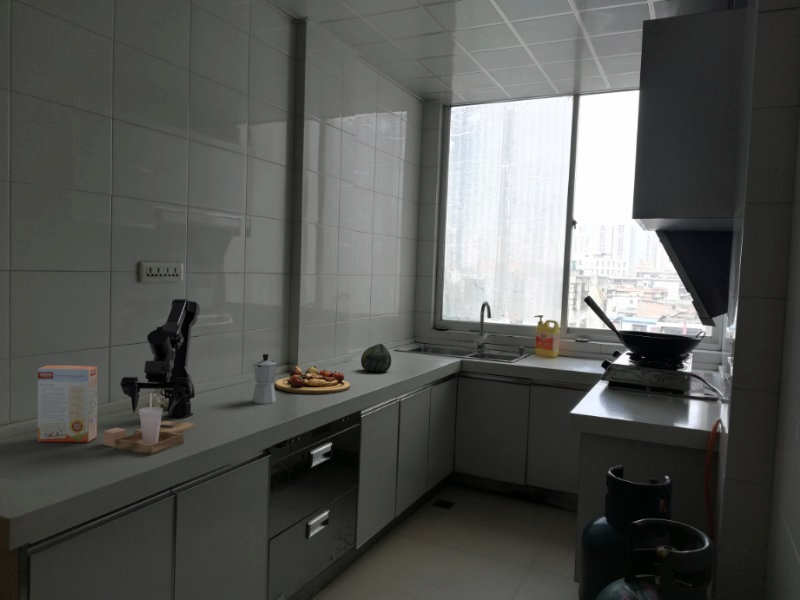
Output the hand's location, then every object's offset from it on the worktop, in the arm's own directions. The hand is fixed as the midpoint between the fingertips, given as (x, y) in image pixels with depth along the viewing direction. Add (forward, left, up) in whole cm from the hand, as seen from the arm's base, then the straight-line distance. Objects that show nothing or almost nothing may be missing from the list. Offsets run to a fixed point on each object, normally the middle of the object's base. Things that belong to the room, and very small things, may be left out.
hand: (151, 411), depth 169 cm
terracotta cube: (-10, -3, -6) cm, 12 cm away
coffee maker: (-4, +63, -10) cm, 64 cm away
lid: (-8, +15, -10) cm, 19 cm away
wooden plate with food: (-2, +96, -10) cm, 96 cm away
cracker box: (-24, -6, -10) cm, 27 cm away
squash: (+6, +146, -10) cm, 146 cm away
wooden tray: (0, 0, -10) cm, 10 cm away
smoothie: (0, 0, -9) cm, 9 cm away
